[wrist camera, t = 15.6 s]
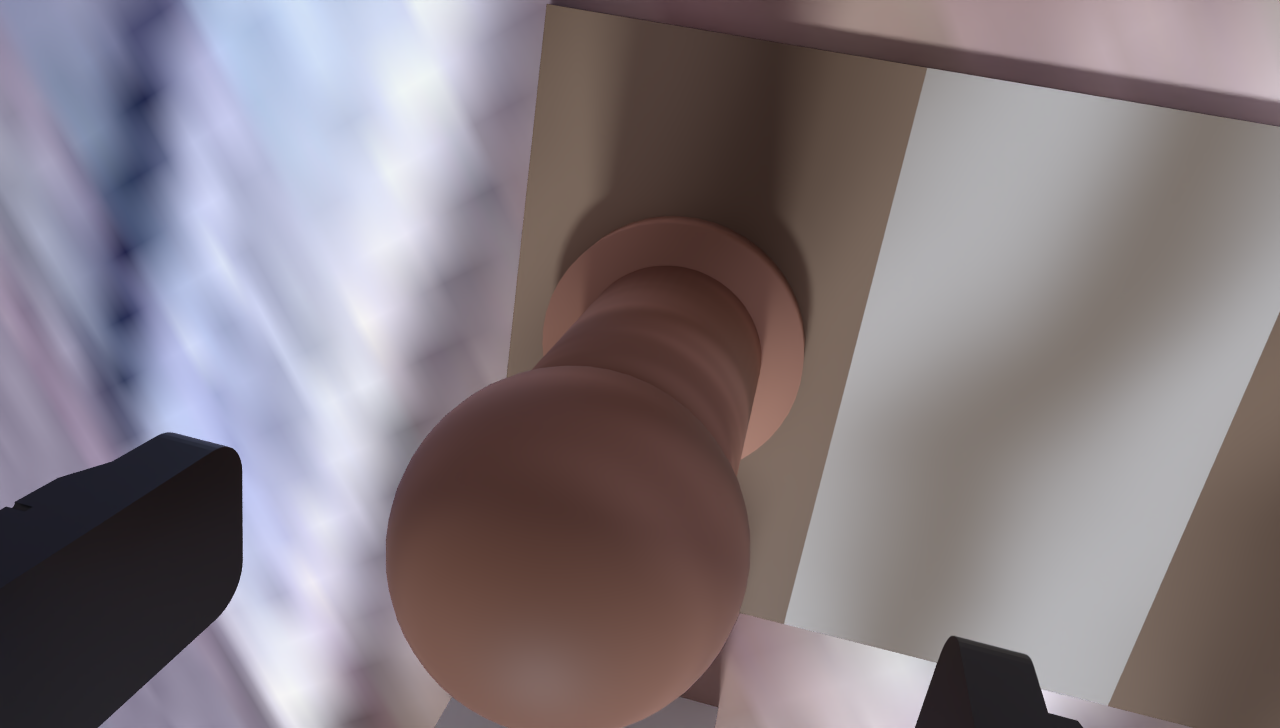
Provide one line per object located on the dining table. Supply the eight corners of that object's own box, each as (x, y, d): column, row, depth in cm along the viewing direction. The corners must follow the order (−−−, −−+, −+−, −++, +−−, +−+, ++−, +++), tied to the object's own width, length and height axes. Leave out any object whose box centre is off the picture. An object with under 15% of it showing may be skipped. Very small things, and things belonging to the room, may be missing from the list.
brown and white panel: (1819, 216, 14) (1838, 220, 14) (1454, 784, 19) (1464, 795, 18) (551, 4, 17) (546, 4, 17) (492, 542, 21) (487, 549, 21)
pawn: (831, 244, 17) (827, 492, 8) (775, 481, 19) (718, 913, 10) (569, 193, 18) (277, 365, 8) (540, 427, 20) (274, 779, 10)
